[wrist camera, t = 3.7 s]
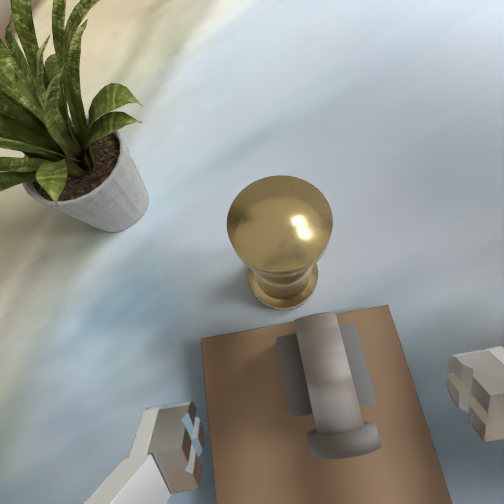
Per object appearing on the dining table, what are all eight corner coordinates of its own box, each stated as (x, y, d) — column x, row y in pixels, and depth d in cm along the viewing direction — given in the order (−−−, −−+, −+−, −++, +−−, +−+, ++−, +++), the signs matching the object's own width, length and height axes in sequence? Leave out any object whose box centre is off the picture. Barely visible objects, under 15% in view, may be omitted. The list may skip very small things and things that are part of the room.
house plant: (195, 109, 30) (96, -170, 14) (233, 240, 24) (141, 19, 9) (47, 155, 29) (-208, -77, 14) (54, 296, 24) (-335, 166, 9)
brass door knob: (308, 240, 24) (318, 166, 15) (324, 303, 22) (345, 259, 14) (244, 252, 24) (220, 186, 16) (255, 315, 22) (234, 279, 14)
